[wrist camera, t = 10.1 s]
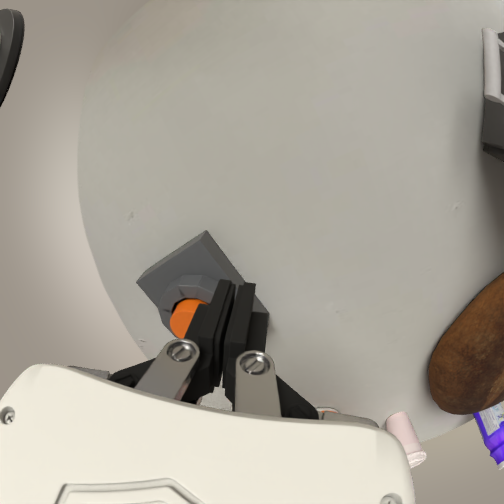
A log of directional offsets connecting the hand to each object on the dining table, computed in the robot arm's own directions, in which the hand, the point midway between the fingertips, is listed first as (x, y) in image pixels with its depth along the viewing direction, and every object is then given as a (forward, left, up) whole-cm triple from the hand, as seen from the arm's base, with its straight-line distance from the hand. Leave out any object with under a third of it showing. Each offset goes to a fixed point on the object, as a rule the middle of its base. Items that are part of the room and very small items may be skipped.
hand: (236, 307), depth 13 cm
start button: (+3, -8, -7) cm, 11 cm away
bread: (+31, +22, -11) cm, 40 cm away
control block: (+3, -8, -11) cm, 14 cm away
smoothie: (+39, +2, -11) cm, 41 cm away
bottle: (+53, +20, -11) cm, 58 cm away
